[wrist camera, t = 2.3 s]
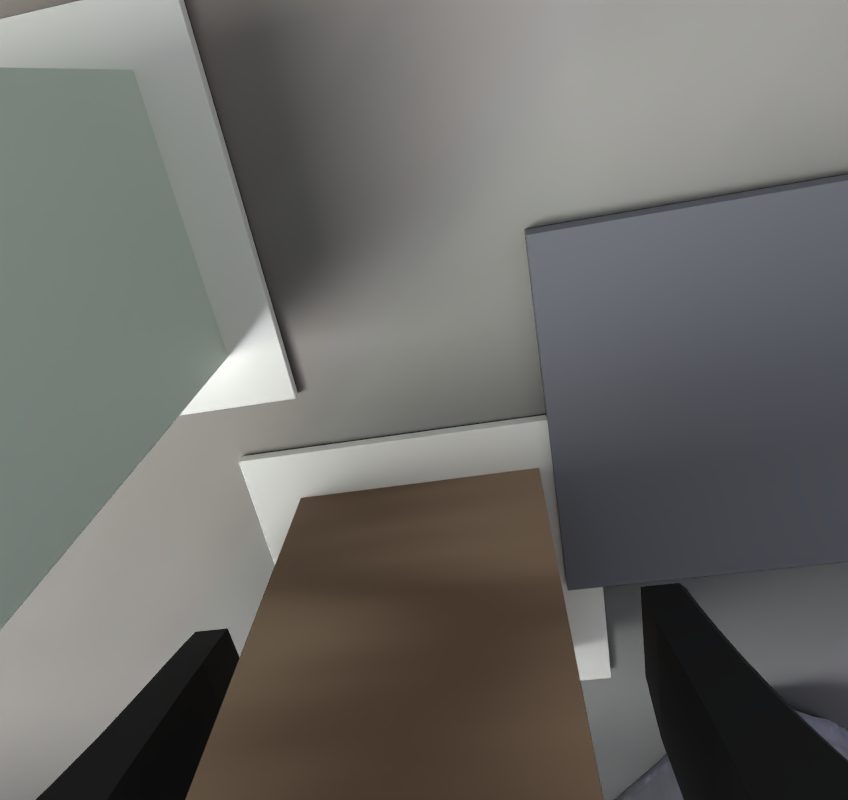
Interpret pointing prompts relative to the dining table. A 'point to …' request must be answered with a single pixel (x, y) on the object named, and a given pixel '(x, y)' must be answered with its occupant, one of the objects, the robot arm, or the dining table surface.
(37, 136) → the sage block
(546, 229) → the charcoal mat
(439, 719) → the walnut block
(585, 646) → the cream tile
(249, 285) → the tile
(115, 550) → the dining table surface
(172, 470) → the dining table surface
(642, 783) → the stone block
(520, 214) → the dining table surface
